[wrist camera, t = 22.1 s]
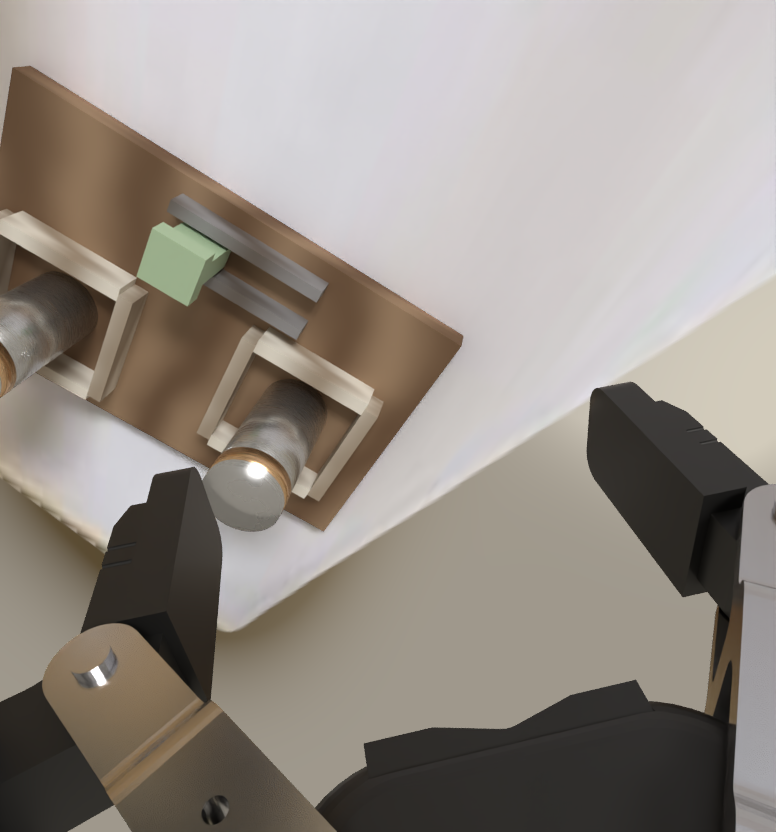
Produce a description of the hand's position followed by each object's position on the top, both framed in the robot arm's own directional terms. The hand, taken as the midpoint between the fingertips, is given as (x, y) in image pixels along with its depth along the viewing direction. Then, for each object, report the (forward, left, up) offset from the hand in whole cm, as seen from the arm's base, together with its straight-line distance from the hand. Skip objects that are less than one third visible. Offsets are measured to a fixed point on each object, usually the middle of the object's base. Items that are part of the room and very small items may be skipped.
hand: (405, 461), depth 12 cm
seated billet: (-20, -21, -25) cm, 38 cm away
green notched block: (-12, -11, -25) cm, 30 cm away
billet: (-3, -19, -25) cm, 32 cm away
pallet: (-11, -18, -27) cm, 34 cm away
